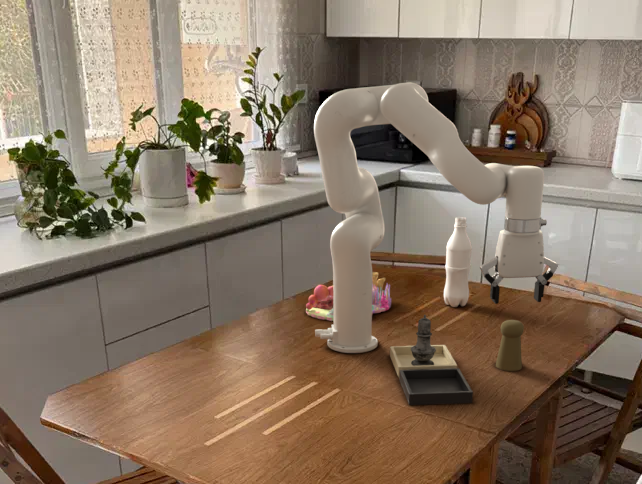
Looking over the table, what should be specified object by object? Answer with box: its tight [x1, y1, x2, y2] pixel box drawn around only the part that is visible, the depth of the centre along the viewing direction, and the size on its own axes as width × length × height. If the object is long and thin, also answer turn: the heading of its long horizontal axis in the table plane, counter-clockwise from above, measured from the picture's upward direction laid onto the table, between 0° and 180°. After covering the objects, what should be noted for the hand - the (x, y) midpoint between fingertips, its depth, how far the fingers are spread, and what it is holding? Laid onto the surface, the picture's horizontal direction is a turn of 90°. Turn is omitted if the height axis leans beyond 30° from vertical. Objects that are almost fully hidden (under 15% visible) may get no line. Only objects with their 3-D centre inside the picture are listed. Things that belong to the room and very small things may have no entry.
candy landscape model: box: [305, 271, 392, 322], centre depth 222 cm, size 25×24×9 cm
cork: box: [494, 319, 525, 372], centre depth 180 cm, size 6×6×11 cm
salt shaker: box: [411, 314, 436, 366], centre depth 181 cm, size 6×6×12 cm
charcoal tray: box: [398, 367, 474, 406], centre depth 169 cm, size 13×13×2 cm
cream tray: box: [389, 344, 458, 378], centre depth 183 cm, size 13×13×2 cm
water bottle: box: [443, 216, 473, 308], centre depth 221 cm, size 7×7×25 cm
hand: (516, 301), depth 176 cm, fingers open, 9 cm apart
